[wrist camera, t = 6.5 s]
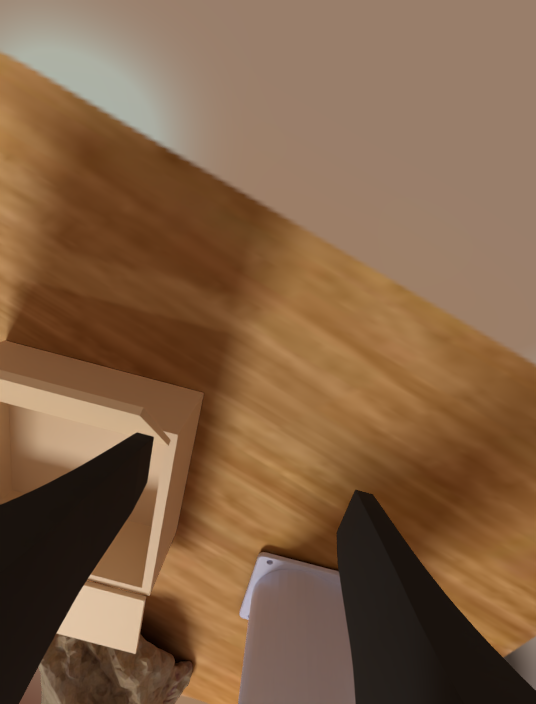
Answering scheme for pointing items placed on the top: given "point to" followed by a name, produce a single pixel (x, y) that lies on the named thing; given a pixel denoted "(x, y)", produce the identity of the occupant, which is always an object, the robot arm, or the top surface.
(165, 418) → the carton
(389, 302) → the top surface
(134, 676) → the artifact
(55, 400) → the cardboard box flap
